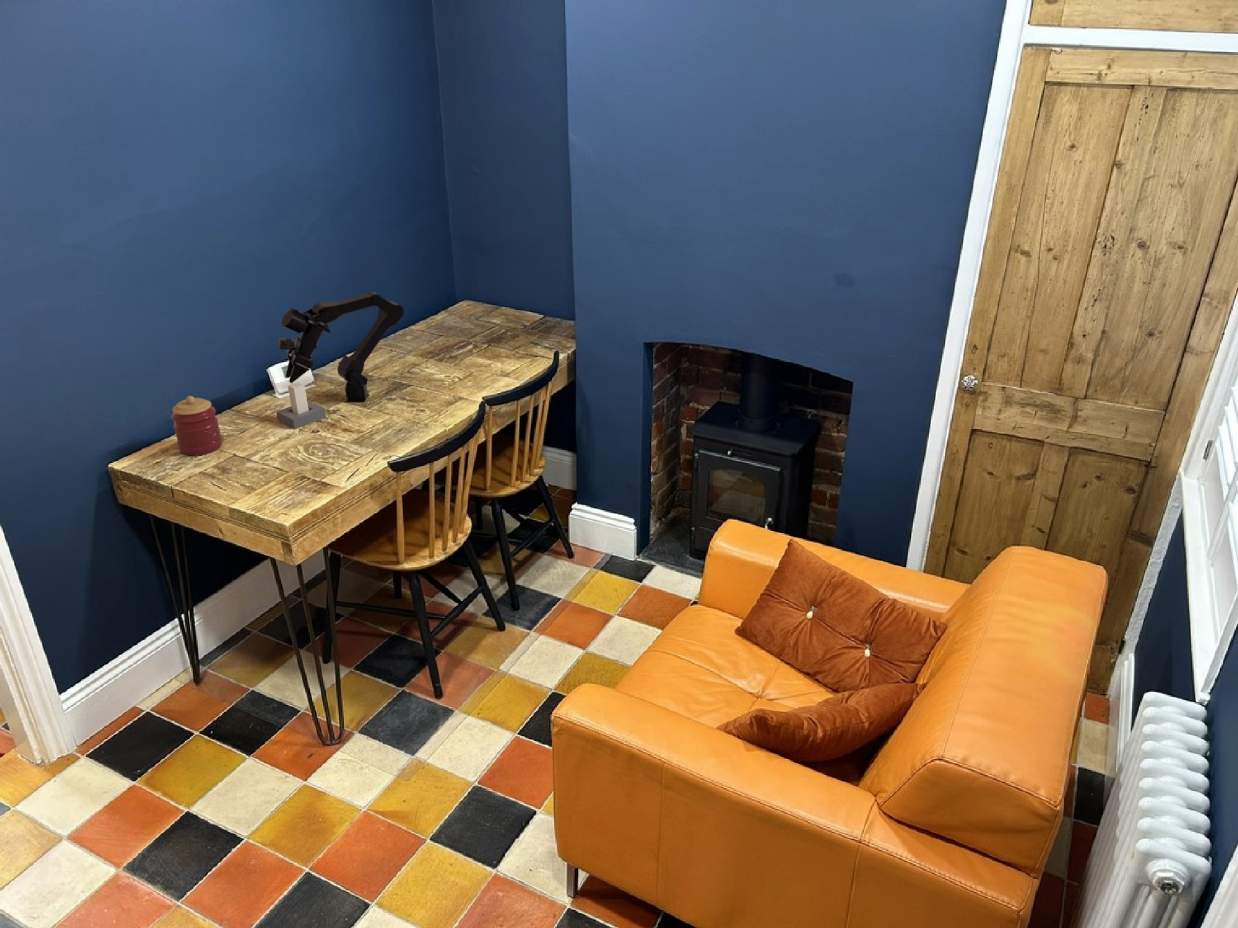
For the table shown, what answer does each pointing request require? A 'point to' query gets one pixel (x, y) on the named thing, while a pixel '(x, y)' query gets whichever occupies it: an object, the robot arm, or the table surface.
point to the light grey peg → (298, 398)
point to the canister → (196, 426)
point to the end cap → (301, 416)
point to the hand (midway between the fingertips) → (288, 380)
